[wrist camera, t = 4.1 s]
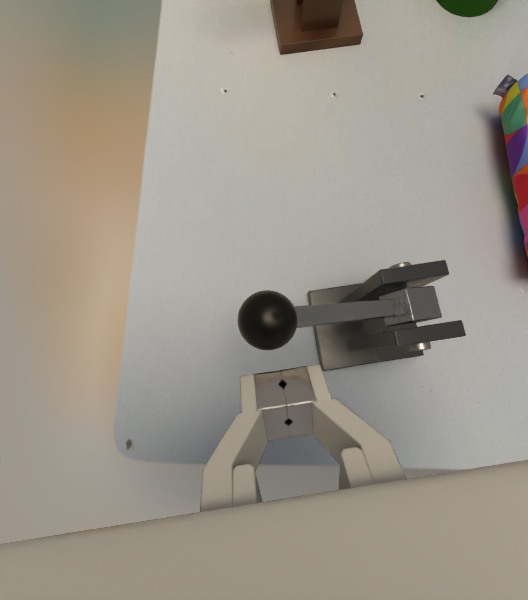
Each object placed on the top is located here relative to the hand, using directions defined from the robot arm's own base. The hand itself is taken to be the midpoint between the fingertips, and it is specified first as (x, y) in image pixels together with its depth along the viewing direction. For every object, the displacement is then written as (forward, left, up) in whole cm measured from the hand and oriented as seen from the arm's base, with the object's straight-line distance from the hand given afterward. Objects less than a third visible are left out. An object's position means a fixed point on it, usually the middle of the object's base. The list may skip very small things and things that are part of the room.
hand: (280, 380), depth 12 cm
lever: (+4, +3, -8) cm, 10 cm away
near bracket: (+10, +3, -20) cm, 23 cm away
